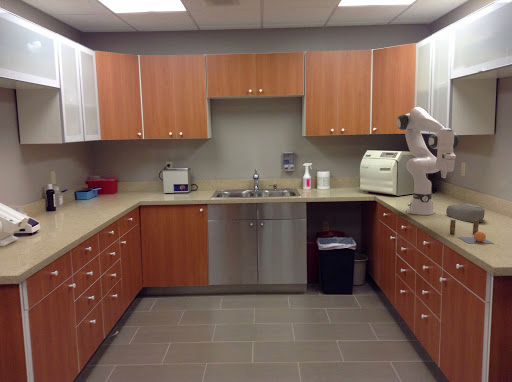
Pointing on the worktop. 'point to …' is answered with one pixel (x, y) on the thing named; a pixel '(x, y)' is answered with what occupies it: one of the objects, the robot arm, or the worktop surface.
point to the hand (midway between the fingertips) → (443, 177)
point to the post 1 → (452, 227)
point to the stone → (466, 212)
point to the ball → (479, 236)
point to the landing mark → (472, 240)
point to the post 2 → (475, 226)
